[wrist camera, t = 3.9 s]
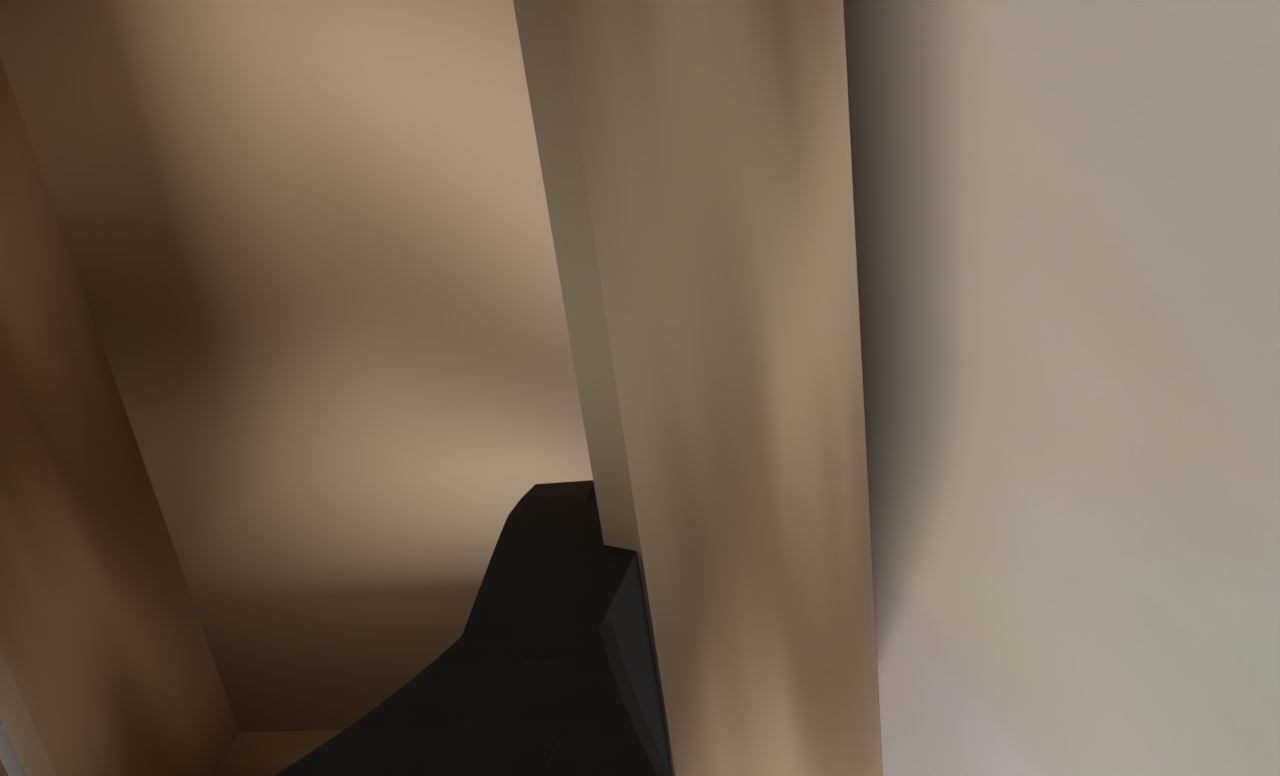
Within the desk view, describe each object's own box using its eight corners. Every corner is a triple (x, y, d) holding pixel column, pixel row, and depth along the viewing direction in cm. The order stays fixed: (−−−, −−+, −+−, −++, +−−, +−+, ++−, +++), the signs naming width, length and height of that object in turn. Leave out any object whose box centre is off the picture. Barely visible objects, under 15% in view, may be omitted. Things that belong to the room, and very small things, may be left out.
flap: (892, 966, 15) (748, 1252, 12) (868, 954, 15) (719, 1233, 12) (824, -359, 9) (494, -417, 6) (784, -349, 9) (446, -401, 6)
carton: (857, 742, 20) (879, 966, 16) (233, 756, 22) (111, 960, 18) (789, -365, 13) (795, -466, 9) (-113, -209, 15) (-445, -236, 11)
